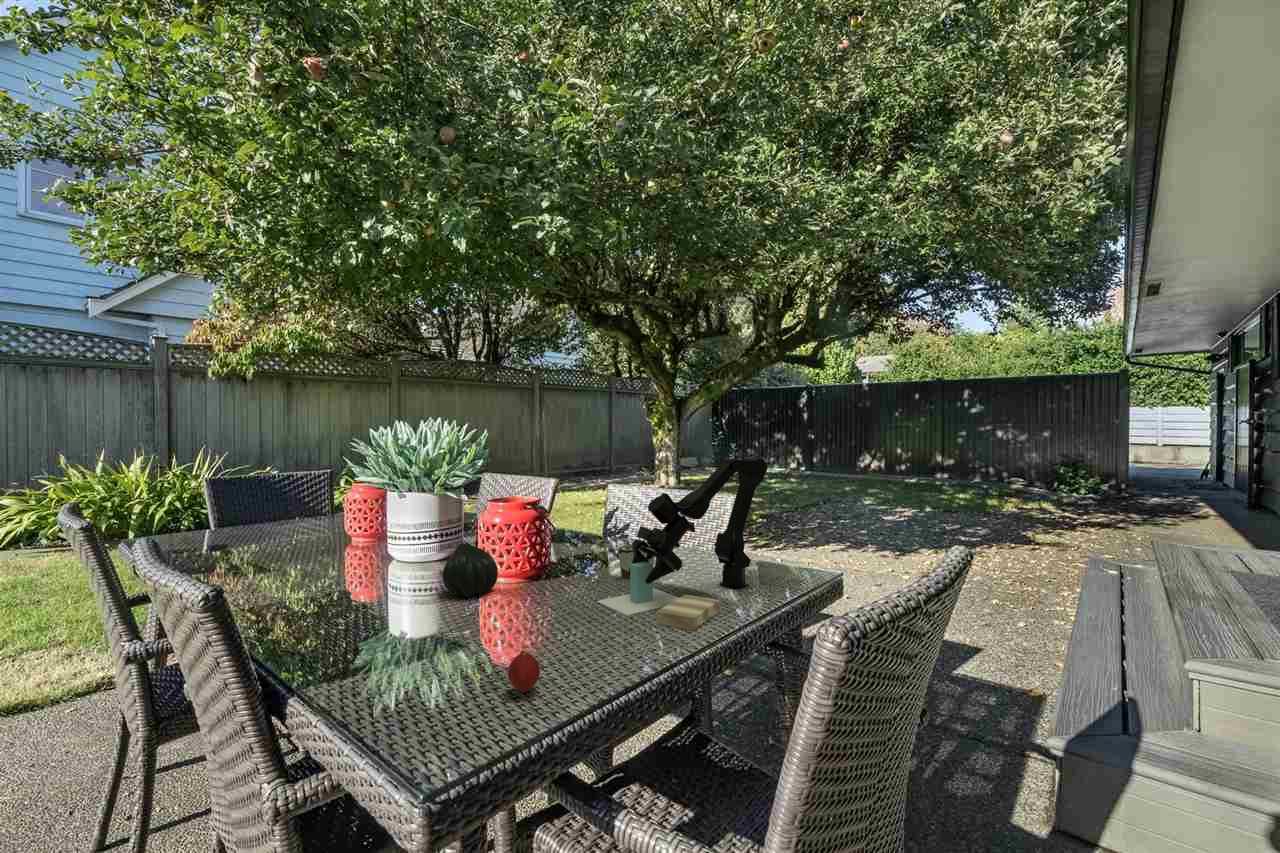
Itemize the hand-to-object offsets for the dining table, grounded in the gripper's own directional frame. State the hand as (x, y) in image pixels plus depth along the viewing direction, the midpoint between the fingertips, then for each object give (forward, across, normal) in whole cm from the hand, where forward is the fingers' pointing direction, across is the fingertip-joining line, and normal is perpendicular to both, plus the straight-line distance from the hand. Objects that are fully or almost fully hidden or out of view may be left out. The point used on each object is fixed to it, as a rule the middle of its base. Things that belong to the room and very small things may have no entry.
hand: (637, 578), depth 165 cm
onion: (+36, +35, -27) cm, 57 cm away
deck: (+1, +17, +8) cm, 19 cm away
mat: (+4, 0, +6) cm, 7 cm away
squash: (+31, -32, -21) cm, 49 cm away
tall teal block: (+4, 0, +5) cm, 6 cm away
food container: (-4, -22, +14) cm, 26 cm away
